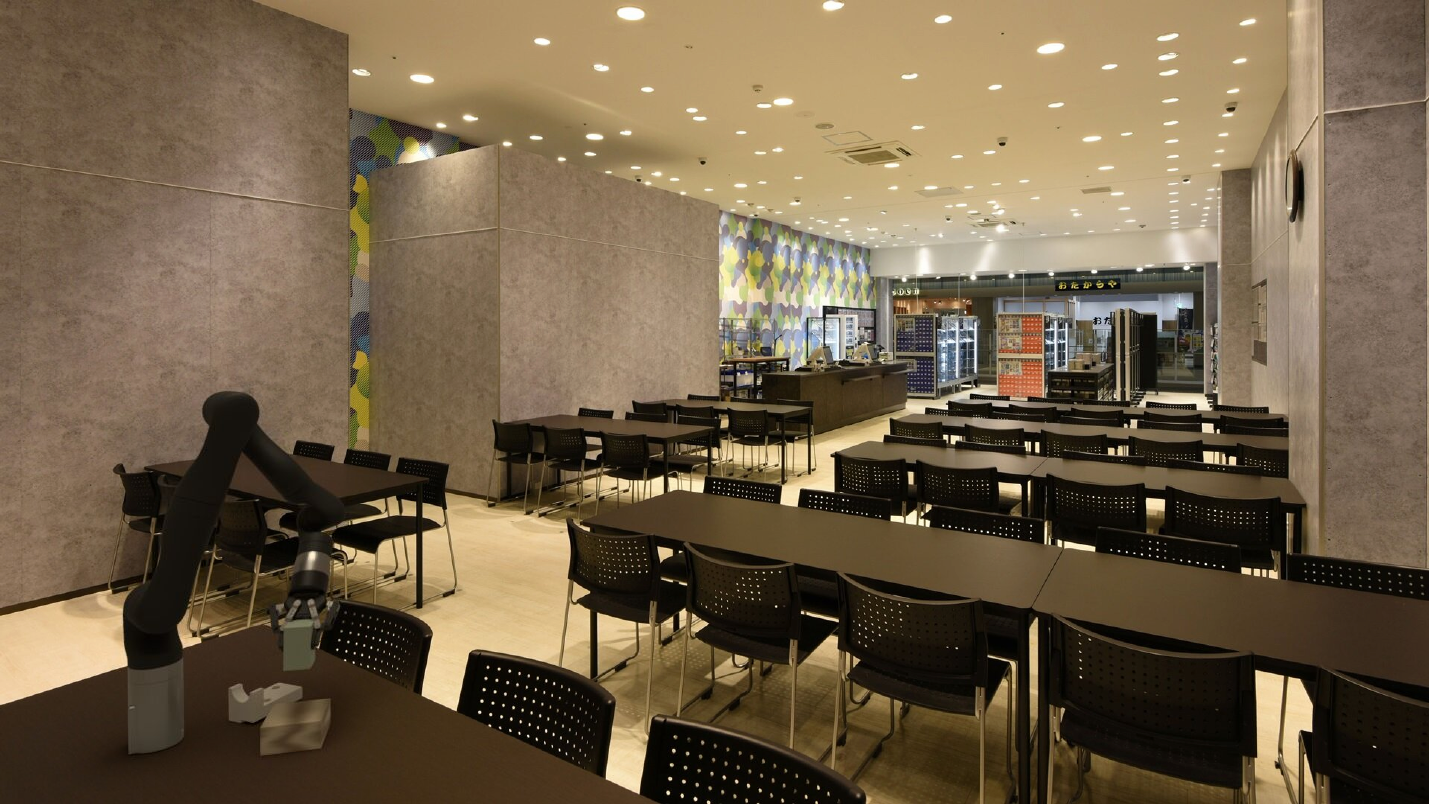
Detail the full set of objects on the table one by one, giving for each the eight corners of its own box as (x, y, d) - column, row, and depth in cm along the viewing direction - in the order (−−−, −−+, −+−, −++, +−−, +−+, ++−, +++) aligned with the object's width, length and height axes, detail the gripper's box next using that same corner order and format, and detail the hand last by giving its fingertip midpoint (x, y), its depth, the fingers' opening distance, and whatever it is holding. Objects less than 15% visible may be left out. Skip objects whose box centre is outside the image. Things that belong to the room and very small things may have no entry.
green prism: (283, 670, 156) (283, 628, 155) (289, 661, 160) (289, 620, 160) (310, 668, 157) (310, 626, 157) (315, 659, 162) (315, 618, 162)
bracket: (253, 727, 164) (253, 693, 163) (228, 721, 166) (228, 688, 165) (302, 701, 176) (302, 670, 176) (278, 697, 178) (278, 665, 178)
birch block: (260, 756, 152) (260, 727, 151) (274, 731, 162) (273, 704, 162) (320, 749, 155) (320, 721, 155) (330, 724, 165) (330, 698, 165)
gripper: (271, 569, 163) (255, 643, 152) (344, 566, 167) (333, 638, 156) (277, 587, 168) (262, 659, 157) (347, 583, 173) (337, 654, 162)
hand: (297, 648), depth 157 cm, fingers closed on green prism, 5 cm apart
